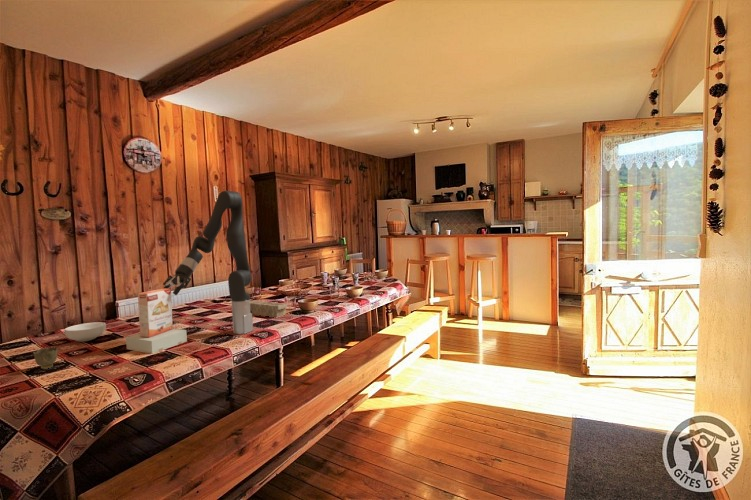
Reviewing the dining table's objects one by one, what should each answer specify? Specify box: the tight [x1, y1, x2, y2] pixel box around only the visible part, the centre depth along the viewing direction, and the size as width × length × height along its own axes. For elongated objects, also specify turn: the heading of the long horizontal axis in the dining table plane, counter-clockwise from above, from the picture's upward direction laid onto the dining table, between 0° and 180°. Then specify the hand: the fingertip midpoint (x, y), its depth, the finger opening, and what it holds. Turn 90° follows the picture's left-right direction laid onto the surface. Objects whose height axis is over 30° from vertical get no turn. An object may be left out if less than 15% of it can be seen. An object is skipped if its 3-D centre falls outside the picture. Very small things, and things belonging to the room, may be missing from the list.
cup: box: [32, 346, 58, 370], centre depth 149 cm, size 8×7×8 cm
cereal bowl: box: [64, 321, 107, 343], centre depth 188 cm, size 17×17×7 cm
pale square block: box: [125, 327, 188, 355], centre depth 175 cm, size 18×18×6 cm
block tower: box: [250, 299, 288, 318], centre depth 231 cm, size 8×8×29 cm
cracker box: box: [137, 287, 174, 337], centre depth 175 cm, size 14×6×21 cm, turn 165°
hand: (168, 293), depth 181 cm, fingers open, 8 cm apart
